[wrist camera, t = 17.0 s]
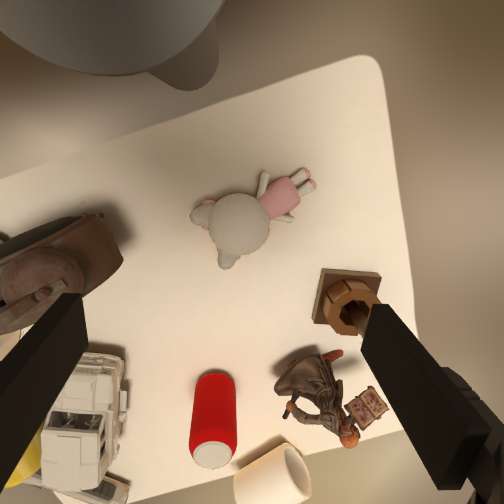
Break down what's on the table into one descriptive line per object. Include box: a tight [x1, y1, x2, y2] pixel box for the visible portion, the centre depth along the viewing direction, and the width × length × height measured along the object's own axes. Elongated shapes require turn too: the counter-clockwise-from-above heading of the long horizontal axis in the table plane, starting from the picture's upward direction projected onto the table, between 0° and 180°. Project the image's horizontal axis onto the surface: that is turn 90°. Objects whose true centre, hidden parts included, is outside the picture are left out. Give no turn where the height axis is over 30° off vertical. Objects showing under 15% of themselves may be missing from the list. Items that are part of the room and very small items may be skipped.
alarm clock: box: [0, 213, 123, 335], centre depth 32 cm, size 15×7×20 cm, turn 111°
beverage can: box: [189, 373, 237, 469], centre depth 46 cm, size 6×6×12 cm
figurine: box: [274, 350, 389, 448], centre depth 44 cm, size 14×7×15 cm, turn 78°
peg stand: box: [312, 269, 382, 339], centre depth 40 cm, size 8×8×15 cm
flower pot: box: [4, 419, 45, 488], centre depth 45 cm, size 10×10×10 cm
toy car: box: [41, 352, 127, 492], centre depth 45 cm, size 10×20×10 cm, turn 170°
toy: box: [190, 168, 316, 270], centre depth 39 cm, size 8×7×15 cm
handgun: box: [22, 468, 129, 504], centre depth 53 cm, size 5×29×15 cm
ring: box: [321, 279, 382, 336], centre depth 44 cm, size 7×7×3 cm
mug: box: [233, 443, 312, 504], centre depth 56 cm, size 8×10×12 cm
